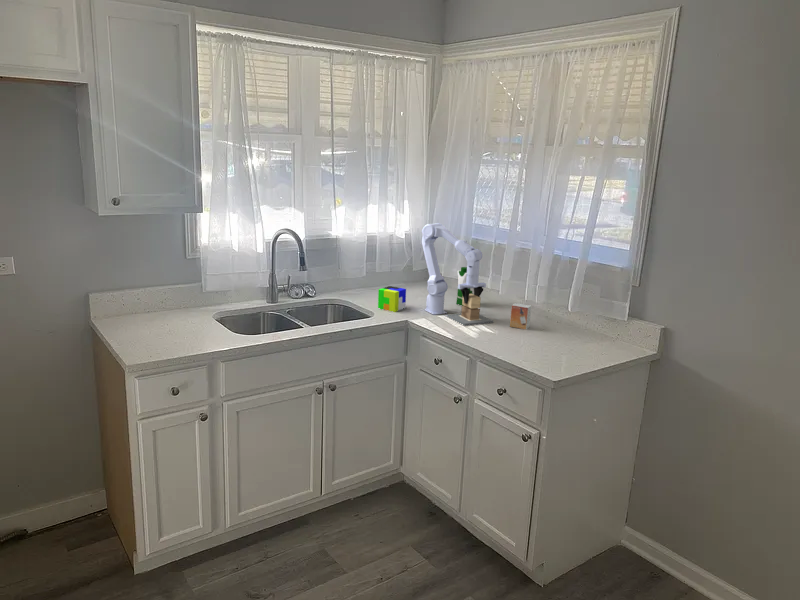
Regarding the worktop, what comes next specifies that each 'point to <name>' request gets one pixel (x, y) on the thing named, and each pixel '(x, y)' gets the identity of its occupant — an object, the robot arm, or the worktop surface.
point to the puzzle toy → (392, 298)
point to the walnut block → (470, 313)
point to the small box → (520, 316)
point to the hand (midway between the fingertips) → (470, 302)
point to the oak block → (472, 301)
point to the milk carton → (461, 280)
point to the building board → (469, 322)
